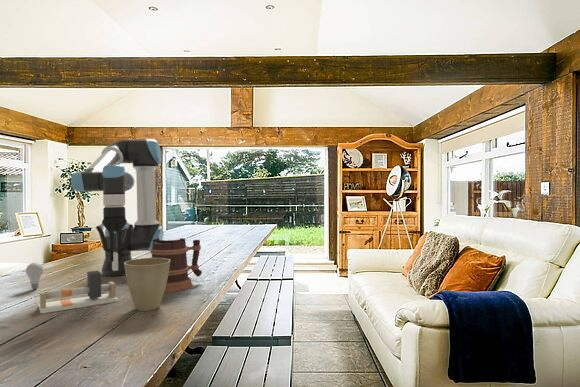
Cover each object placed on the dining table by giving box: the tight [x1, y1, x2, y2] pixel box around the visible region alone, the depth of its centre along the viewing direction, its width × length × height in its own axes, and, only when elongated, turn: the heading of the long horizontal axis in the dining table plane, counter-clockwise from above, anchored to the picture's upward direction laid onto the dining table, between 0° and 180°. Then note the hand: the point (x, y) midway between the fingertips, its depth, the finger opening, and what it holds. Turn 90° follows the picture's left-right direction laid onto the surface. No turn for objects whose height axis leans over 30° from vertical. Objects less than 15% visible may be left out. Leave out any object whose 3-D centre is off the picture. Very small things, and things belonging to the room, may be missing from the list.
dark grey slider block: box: [86, 270, 102, 298], centre depth 147 cm, size 4×5×9 cm, turn 35°
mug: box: [149, 237, 203, 293], centre depth 169 cm, size 18×23×20 cm
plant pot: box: [124, 257, 170, 312], centre depth 139 cm, size 15×15×16 cm
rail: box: [38, 281, 119, 314], centre depth 145 cm, size 24×10×6 cm, turn 125°
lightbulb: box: [25, 262, 44, 290], centre depth 167 cm, size 6×6×11 cm
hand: (115, 269), depth 151 cm, fingers closed
